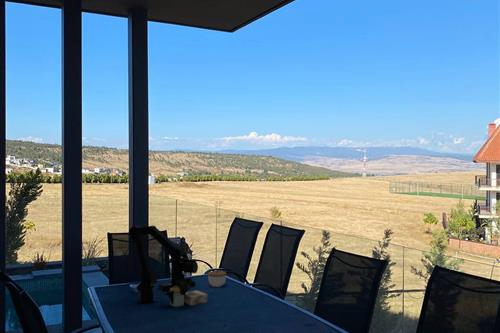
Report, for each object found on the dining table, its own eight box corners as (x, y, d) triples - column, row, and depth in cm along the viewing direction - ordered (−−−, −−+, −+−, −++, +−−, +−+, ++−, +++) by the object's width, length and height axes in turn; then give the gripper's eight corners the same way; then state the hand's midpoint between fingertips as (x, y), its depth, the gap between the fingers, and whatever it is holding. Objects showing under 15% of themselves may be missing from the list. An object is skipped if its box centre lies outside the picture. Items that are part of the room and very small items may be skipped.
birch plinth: (190, 305, 234) (190, 297, 234) (180, 300, 241) (180, 293, 241) (207, 302, 240) (207, 294, 240) (197, 297, 248) (197, 290, 248)
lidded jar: (207, 284, 278) (207, 268, 278) (224, 283, 280) (225, 267, 280) (208, 288, 267) (208, 272, 268) (227, 287, 269) (227, 271, 269)
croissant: (168, 302, 252) (174, 290, 250) (156, 291, 256) (161, 279, 254) (192, 292, 270) (198, 281, 268) (180, 282, 275) (185, 271, 273)
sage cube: (175, 306, 231) (175, 296, 231) (170, 304, 235) (170, 294, 235) (183, 305, 234) (183, 295, 234) (178, 302, 238) (178, 293, 238)
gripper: (168, 277, 222) (168, 309, 222) (201, 272, 234) (201, 303, 234) (157, 273, 231) (157, 304, 231) (190, 268, 243) (189, 298, 243)
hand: (177, 302), depth 234 cm, fingers closed on sage cube, 5 cm apart
